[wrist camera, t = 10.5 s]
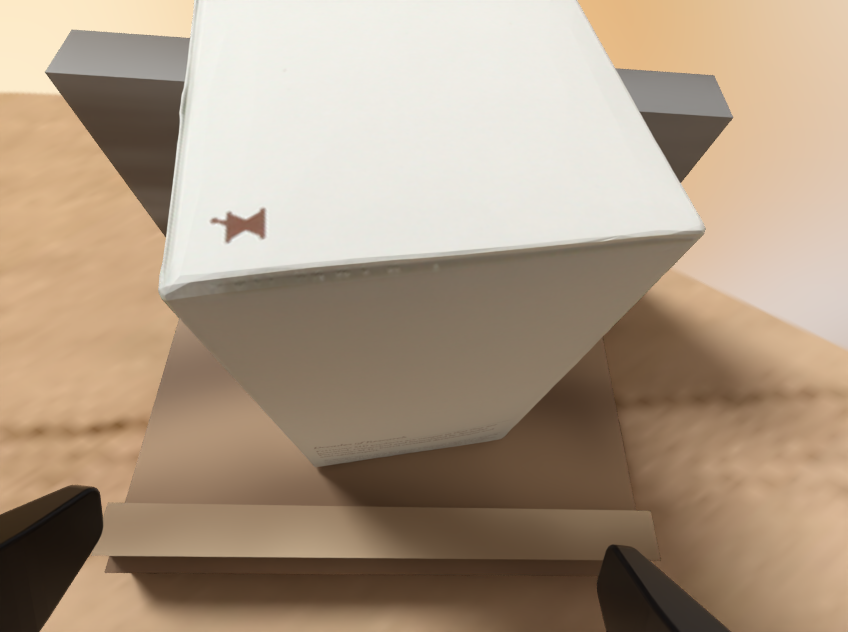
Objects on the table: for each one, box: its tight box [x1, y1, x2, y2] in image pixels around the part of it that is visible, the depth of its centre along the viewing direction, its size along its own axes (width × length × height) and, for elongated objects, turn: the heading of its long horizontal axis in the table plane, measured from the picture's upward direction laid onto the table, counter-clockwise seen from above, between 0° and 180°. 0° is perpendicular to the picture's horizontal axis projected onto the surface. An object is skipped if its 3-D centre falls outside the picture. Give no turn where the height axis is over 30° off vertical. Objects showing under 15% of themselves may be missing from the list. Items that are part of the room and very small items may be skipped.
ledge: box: [45, 30, 733, 576], centre depth 15 cm, size 14×20×10 cm
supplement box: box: [159, 0, 705, 467], centre depth 13 cm, size 7×7×13 cm
